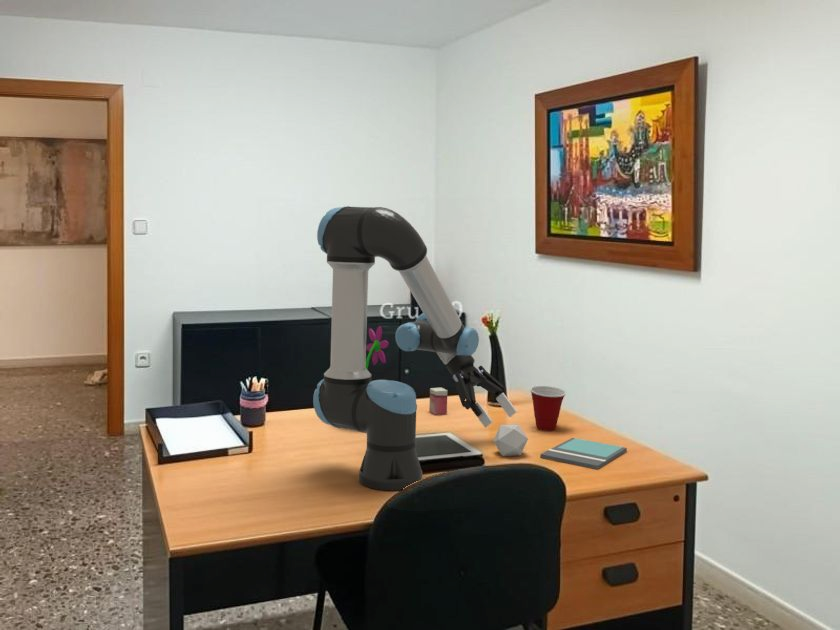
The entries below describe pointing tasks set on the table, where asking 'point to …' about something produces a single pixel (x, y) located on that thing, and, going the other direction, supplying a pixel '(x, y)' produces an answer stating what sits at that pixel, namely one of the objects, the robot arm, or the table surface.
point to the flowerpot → (376, 347)
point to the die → (510, 440)
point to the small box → (438, 401)
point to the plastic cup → (547, 406)
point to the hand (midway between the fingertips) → (501, 419)
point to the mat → (584, 453)
